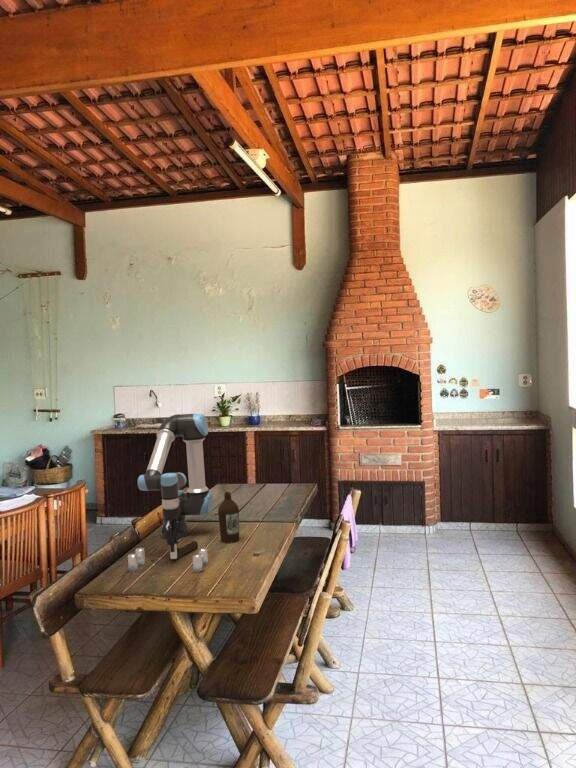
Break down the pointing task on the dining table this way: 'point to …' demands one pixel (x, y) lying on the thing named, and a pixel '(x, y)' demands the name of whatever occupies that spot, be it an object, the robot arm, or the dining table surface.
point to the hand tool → (186, 549)
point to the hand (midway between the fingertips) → (173, 558)
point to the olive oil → (228, 519)
